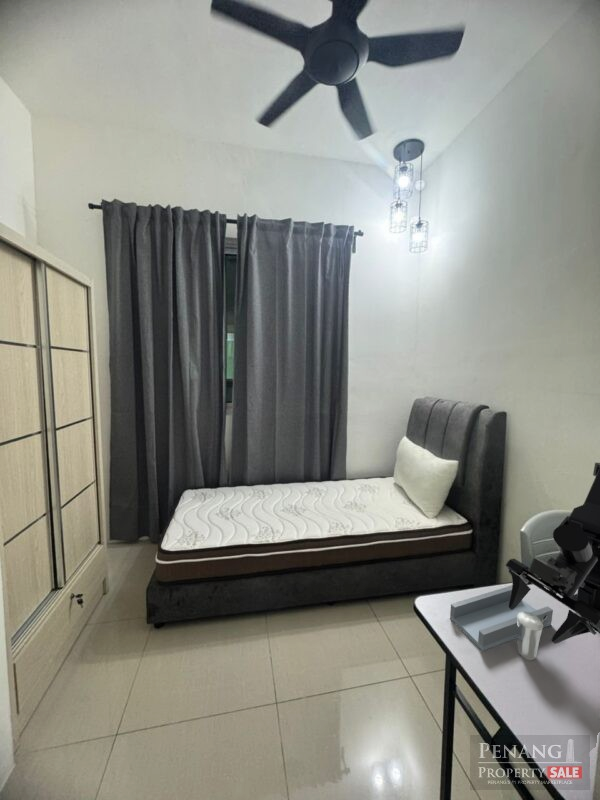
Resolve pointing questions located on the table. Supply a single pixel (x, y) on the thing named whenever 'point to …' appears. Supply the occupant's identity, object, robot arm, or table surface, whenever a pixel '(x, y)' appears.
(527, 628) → the milkshake
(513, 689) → the table surface
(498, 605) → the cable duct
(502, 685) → the table surface
